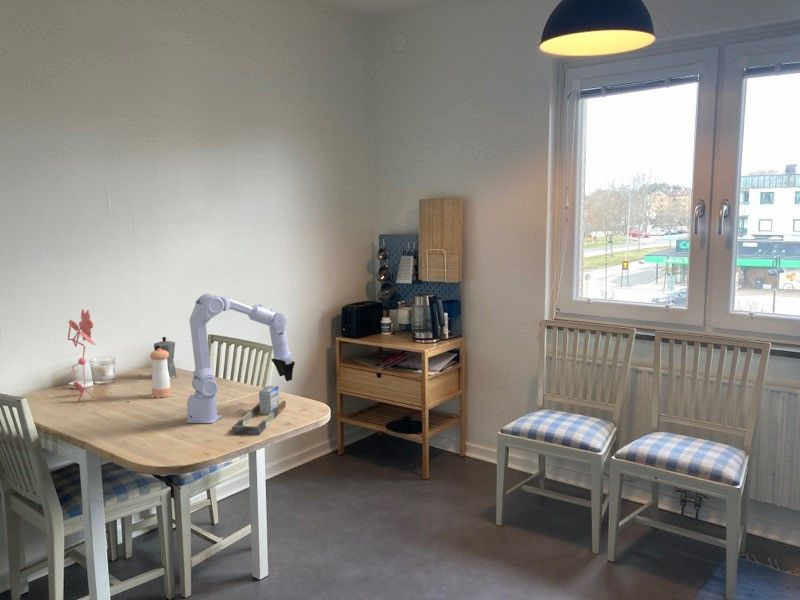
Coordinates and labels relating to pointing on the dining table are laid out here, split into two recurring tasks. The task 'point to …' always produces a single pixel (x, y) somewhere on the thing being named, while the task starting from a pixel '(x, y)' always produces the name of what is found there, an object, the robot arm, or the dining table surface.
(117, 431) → the dining table surface
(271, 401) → the medicine box
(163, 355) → the salt shaker
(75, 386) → the figurine
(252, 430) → the trap channel
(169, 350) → the coffeepot
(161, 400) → the dining table surface
